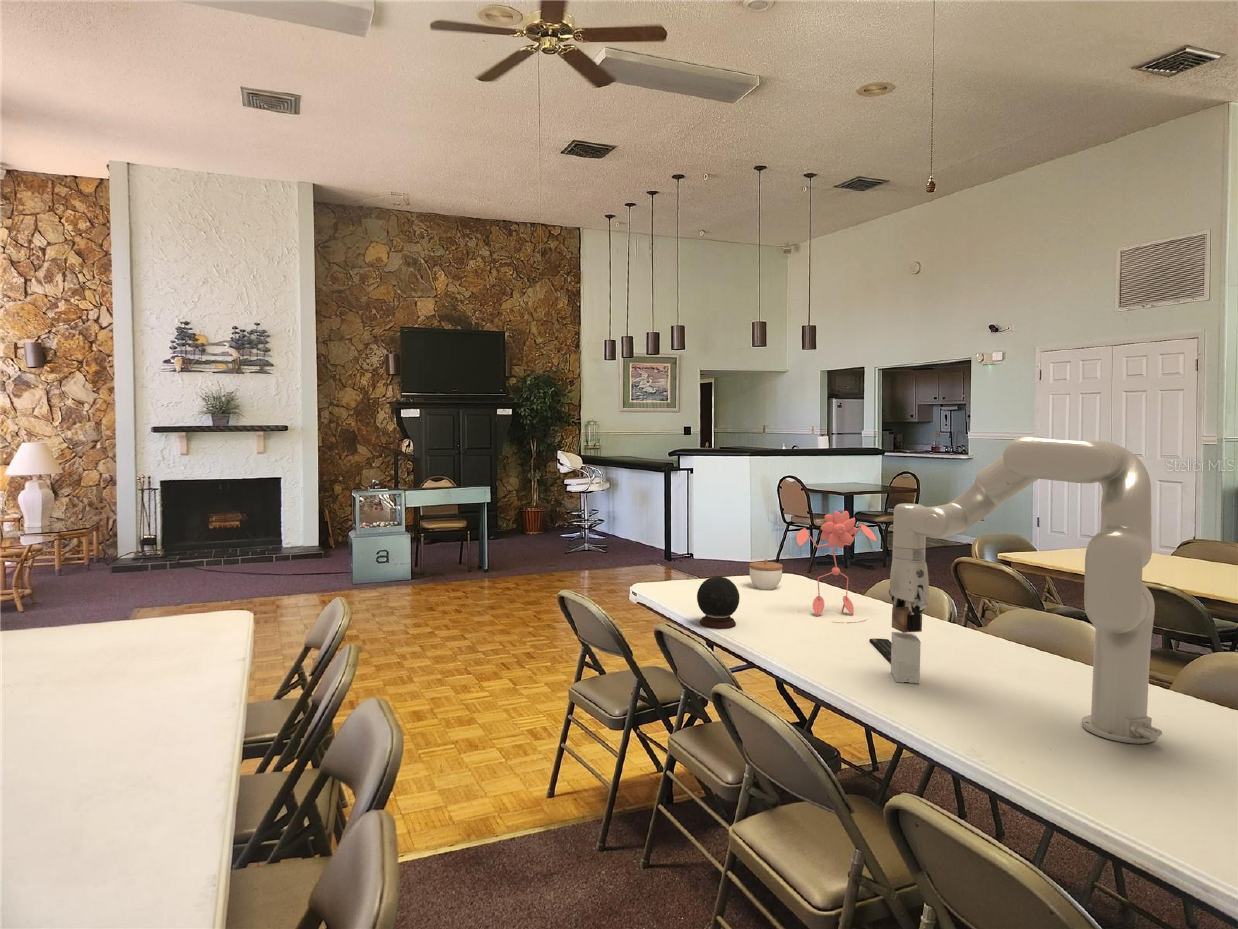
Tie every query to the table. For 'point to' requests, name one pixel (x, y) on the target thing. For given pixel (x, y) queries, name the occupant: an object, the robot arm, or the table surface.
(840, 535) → the pink flower doll
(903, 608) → the walnut cube
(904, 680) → the small box
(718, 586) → the black ball on stand
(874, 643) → the remote control
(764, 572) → the lidded bowl
